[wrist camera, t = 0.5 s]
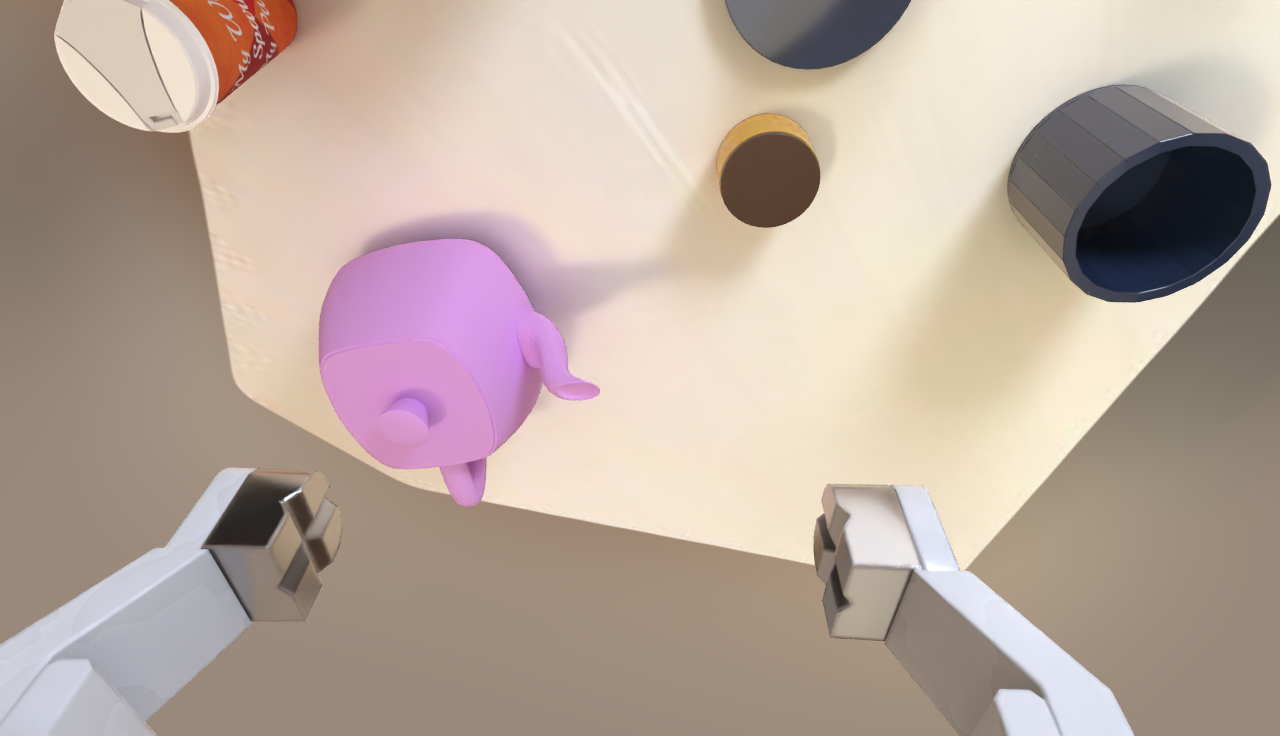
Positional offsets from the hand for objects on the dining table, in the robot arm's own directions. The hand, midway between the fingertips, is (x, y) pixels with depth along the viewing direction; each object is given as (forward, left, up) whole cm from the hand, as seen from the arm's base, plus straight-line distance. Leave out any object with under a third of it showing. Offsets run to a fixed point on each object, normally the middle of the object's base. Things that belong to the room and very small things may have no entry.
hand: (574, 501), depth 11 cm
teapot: (+25, -16, -43) cm, 52 cm away
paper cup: (+1, -26, -43) cm, 50 cm away
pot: (+11, +33, -43) cm, 55 cm away
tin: (+11, +9, -43) cm, 45 cm away
